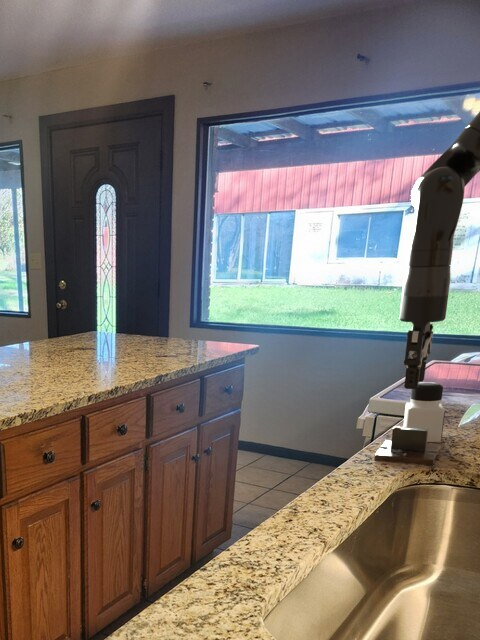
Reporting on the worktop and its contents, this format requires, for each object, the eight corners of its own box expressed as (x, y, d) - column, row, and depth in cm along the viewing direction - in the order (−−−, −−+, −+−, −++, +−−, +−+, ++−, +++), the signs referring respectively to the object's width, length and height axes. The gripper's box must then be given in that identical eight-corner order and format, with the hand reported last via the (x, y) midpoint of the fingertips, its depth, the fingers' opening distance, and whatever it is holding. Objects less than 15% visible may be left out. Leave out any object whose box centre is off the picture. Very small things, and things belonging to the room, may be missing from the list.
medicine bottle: (441, 443, 145) (448, 386, 141) (404, 441, 147) (410, 386, 143) (437, 435, 151) (444, 380, 147) (402, 434, 153) (408, 380, 149)
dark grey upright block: (426, 449, 130) (428, 427, 128) (424, 451, 128) (427, 429, 127) (392, 446, 133) (394, 425, 131) (390, 448, 131) (392, 427, 130)
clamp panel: (439, 459, 134) (441, 443, 133) (432, 475, 124) (434, 459, 123) (383, 454, 139) (385, 439, 138) (372, 470, 129) (374, 453, 128)
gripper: (444, 295, 114) (431, 392, 119) (452, 290, 125) (440, 379, 130) (395, 296, 117) (385, 390, 123) (408, 291, 129) (398, 378, 134)
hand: (414, 384), depth 127 cm, fingers open, 8 cm apart
